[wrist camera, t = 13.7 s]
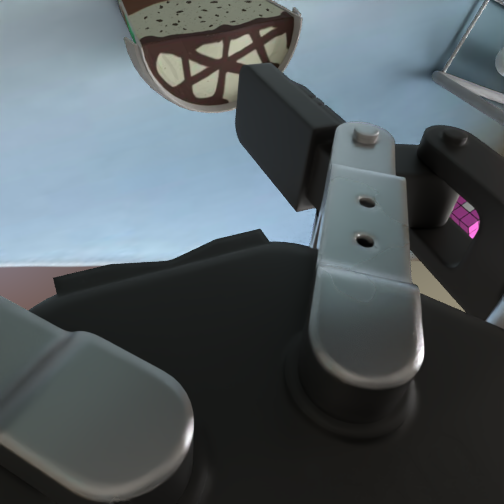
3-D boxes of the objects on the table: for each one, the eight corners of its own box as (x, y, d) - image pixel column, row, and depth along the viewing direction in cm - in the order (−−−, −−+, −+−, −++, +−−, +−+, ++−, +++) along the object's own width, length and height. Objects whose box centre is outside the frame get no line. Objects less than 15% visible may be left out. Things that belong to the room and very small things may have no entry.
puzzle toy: (442, 205, 75) (468, 227, 71) (472, 184, 75) (500, 205, 71) (444, 224, 79) (469, 246, 76) (473, 205, 79) (499, 226, 76)
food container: (113, 77, 39) (148, 138, 33) (96, -3, 35) (132, 49, 29) (248, 50, 43) (302, 100, 37) (247, -25, 39) (309, 16, 32)
